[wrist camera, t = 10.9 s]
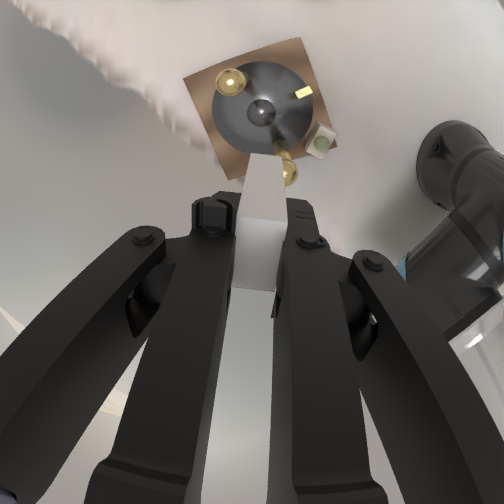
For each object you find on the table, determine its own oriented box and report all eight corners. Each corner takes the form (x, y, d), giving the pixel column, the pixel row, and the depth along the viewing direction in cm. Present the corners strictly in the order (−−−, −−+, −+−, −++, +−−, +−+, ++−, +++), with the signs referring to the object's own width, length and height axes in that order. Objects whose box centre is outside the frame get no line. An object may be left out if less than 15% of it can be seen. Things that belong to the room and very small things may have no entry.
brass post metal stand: (330, 129, 38) (355, 160, 27) (245, 169, 42) (236, 215, 31) (283, 44, 32) (291, 33, 20) (196, 91, 36) (162, 105, 25)
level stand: (335, 145, 41) (344, 157, 36) (229, 178, 45) (223, 194, 40) (299, 37, 32) (304, 32, 27) (184, 78, 36) (172, 80, 31)
